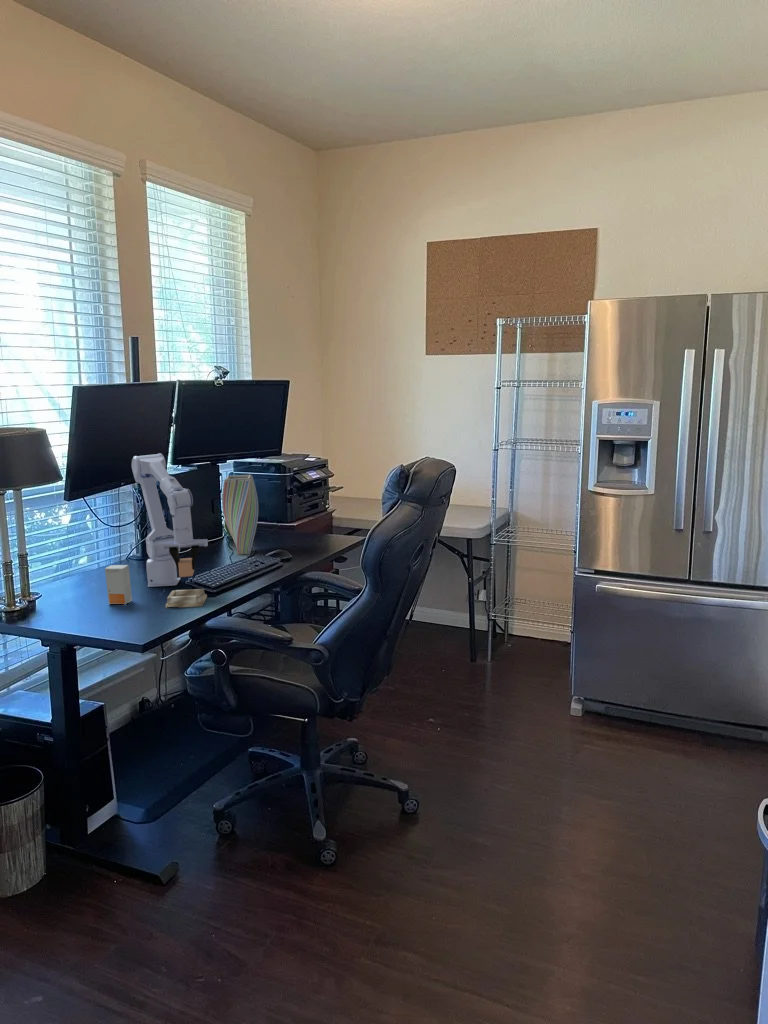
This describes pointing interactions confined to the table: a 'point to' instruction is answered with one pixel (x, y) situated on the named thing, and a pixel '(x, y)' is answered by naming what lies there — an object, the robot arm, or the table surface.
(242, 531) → the vase
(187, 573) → the keyed block
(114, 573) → the skincare box
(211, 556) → the table surface
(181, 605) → the stand
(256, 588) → the table surface
